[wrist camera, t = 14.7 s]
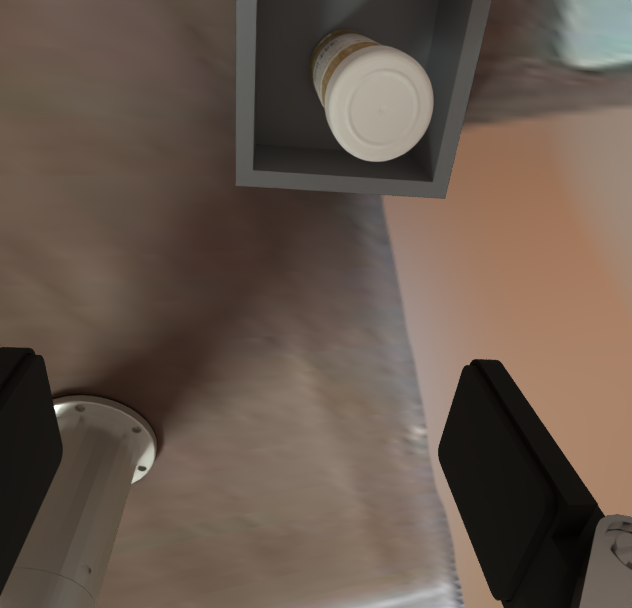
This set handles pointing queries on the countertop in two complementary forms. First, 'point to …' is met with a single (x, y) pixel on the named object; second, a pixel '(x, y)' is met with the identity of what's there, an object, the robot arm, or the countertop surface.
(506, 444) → the robot arm
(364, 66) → the sprinkles bottle
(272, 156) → the bin
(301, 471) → the countertop surface
